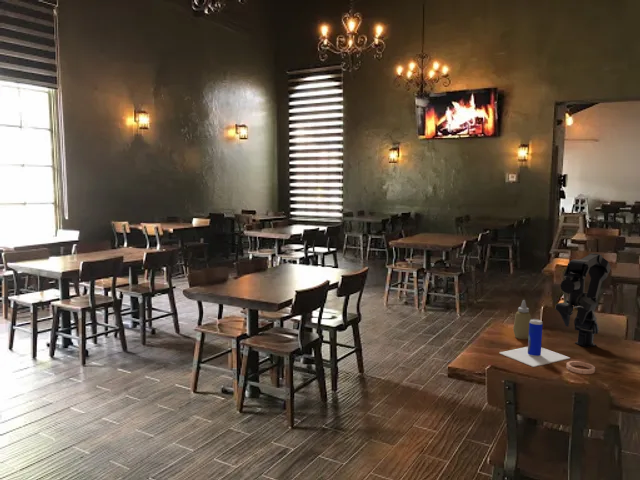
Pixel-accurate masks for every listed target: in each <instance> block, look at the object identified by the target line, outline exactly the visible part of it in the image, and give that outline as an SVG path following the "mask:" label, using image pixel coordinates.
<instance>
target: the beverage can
mask: <svg viewBox="0 0 640 480" xmlns="http://www.w3.org/2000/svg"><path fill="white" fill-rule="evenodd" d="M543 325H544V323H543V321H542V320H540V319H537V318H531V320H530V322H529V338H528V339H527V340H528V341H527V347H528V354H529V355H530V356H533V357H539V356H540V355H541V347H542V342H543V341H542V337H543Z"/></svg>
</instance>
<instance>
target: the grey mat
mask: <svg viewBox="0 0 640 480" xmlns="http://www.w3.org/2000/svg"><path fill="white" fill-rule="evenodd" d="M498 354H500V355H501V356H505V357H507V358H509V359H512V360H514V361H517V362H520V363H522V364H523V365H524V364H525V365H527V366H530V367H532V368H535V367H539V366H544V365H548V364H553V363H556V362H557V363H558V362H561V361H565V360H569V359H571V357H569V356H566V355H564V354H562V353H558V352H557V351H556V352H555V351H552V350H550V349H547V348H544V347H542V346H541V355H540V356H539V357H533V356H530V355H529V354H528V346H524V347H520V348H519V347H518V348H516V349H509V350H506V351H499V353H498Z"/></svg>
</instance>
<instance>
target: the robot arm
mask: <svg viewBox="0 0 640 480" xmlns="http://www.w3.org/2000/svg"><path fill="white" fill-rule="evenodd" d="M610 272H611V265H610V262H609V261H608V260H607V259H606V258H604V257H603V256H602V254H599V253H588V255H586V256H584V257H583V258H580V259H571V260H570V261H569V262H568V263H567V266H566V269H565V272H564V275H563V276H564V277H565V279H563V280H562V281H561V283H560V289H561V291H562V292H563V293H565V294H567V295H568V300H566V301H565V302H566V303H565V302H558V303H556V304H555V310H556V312H557V313H559V315H560V316H561V318H562V321H563V323H564V325H565V327H566V328H567V327H569V326H570V320H571V316H572V314H574V309H575V308H576V309H577V313H576V315H575V318H574V321H573V323H574V330H575V331H578V335H577V336H578V337H577V341H575V342H574V344H576V345H579V346H581V347H584V348H590V347H594V346H595V347H596V346H597V343H594V337H595V335H597V334H599V331H600V329H599V328H600V327H599V324H598V322H597V315H596V314H595V312H596V311H595V310H596V307H598V306H599V294H600V290H601V287H602V283H603V282H604V281H605V280H606V279H607V278H608V276H609V274H610ZM588 275H589V277H590V280H589V283H588V288H587V291H586V292H585V283H586V278H587V276H588Z"/></svg>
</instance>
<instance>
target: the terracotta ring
mask: <svg viewBox="0 0 640 480" xmlns="http://www.w3.org/2000/svg"><path fill="white" fill-rule="evenodd" d="M565 365H566V367H565V368H566V369H567V370H568V371H570V372H572V373H576V374H582V375H591V374H595V371H596V367H595V366H594V365H593V364H591V363H588V362H587V361H586V362H584V361H580V360H579V361H578V360H570V361H567V362H566V364H565ZM575 366H576V367H575ZM577 366H580V367H583V368H577ZM584 367H585V368H586V369H584Z"/></svg>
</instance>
